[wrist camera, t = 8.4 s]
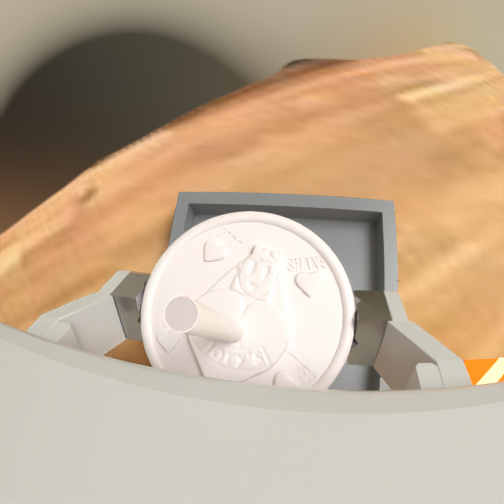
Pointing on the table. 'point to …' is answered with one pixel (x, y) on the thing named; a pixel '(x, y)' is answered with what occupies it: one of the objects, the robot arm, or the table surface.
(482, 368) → the orange juice
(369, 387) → the tray
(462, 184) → the table surface
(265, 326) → the smoothie
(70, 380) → the robot arm
